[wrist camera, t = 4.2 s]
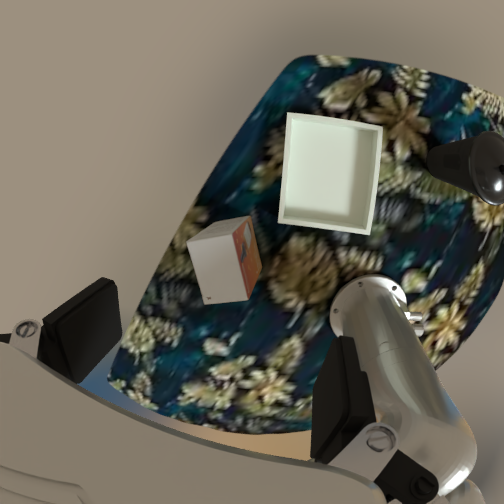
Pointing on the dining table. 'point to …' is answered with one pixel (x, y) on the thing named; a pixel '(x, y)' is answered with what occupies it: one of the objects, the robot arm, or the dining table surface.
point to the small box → (226, 260)
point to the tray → (330, 173)
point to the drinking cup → (472, 165)
